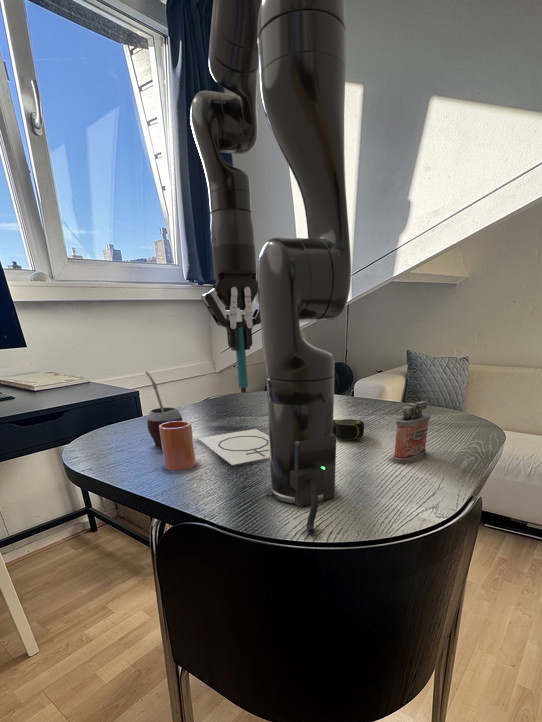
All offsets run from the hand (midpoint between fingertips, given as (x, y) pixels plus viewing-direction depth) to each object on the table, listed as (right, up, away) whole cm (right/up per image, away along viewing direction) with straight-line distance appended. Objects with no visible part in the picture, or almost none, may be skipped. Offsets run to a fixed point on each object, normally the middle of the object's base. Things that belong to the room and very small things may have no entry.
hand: (240, 349), depth 79 cm
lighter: (+31, -21, -3) cm, 38 cm away
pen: (0, -7, +3) cm, 8 cm away
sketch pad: (0, -18, +6) cm, 19 cm away
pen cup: (-11, -23, -4) cm, 26 cm away
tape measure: (+22, -16, +10) cm, 29 cm away
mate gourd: (-16, -18, +7) cm, 25 cm away
